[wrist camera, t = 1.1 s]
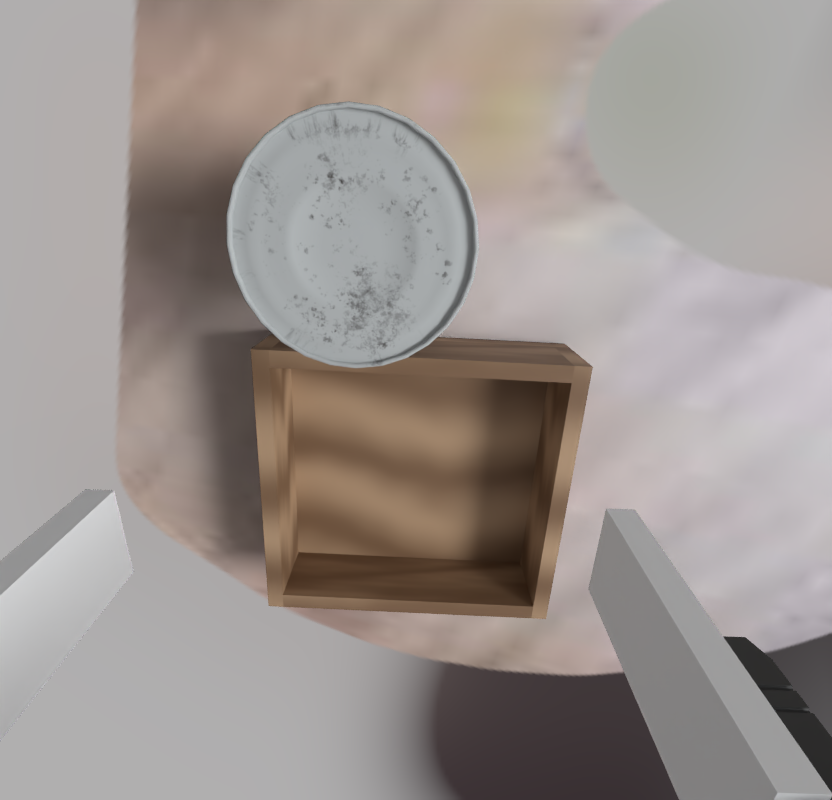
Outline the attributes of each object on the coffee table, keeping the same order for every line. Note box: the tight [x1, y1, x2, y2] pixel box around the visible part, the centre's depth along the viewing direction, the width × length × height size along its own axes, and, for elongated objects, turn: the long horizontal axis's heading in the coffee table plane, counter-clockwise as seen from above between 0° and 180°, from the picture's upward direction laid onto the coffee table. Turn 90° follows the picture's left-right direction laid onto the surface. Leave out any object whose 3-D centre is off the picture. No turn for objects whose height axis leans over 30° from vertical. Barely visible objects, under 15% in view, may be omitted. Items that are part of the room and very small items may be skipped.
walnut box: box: [251, 333, 593, 619], centre depth 32 cm, size 18×19×6 cm
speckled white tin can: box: [227, 102, 479, 368], centre depth 24 cm, size 10×10×12 cm
